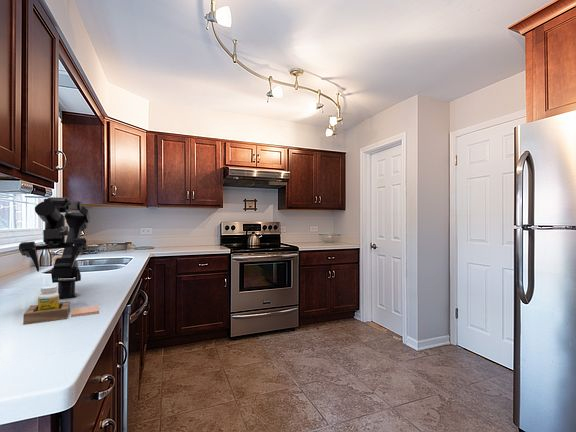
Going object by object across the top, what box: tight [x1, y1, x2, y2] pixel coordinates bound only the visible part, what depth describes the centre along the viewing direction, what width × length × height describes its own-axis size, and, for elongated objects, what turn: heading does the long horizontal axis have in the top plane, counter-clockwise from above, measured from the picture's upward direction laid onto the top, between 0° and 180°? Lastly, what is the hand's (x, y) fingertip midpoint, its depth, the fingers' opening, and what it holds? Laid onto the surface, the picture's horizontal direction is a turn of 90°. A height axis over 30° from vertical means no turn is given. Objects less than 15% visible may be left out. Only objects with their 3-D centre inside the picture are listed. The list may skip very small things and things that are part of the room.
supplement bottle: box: [37, 285, 60, 311], centre depth 98 cm, size 5×5×10 cm
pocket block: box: [22, 301, 71, 326], centre depth 98 cm, size 11×11×3 cm
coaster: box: [70, 305, 100, 318], centre depth 104 cm, size 8×8×1 cm
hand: (55, 269), depth 105 cm, fingers open, 9 cm apart
